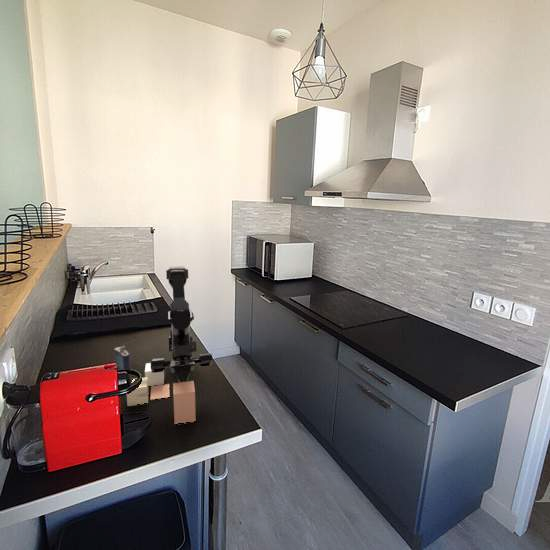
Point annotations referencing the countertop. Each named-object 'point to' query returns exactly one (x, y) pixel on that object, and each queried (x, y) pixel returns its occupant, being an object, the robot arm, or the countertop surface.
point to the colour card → (160, 392)
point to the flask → (122, 358)
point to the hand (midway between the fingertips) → (183, 390)
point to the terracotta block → (184, 402)
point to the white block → (153, 376)
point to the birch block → (139, 393)
